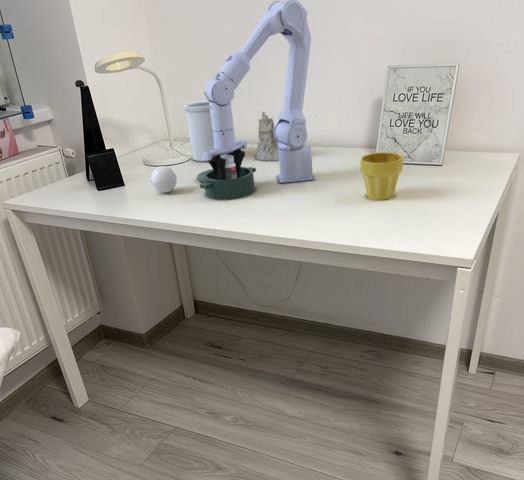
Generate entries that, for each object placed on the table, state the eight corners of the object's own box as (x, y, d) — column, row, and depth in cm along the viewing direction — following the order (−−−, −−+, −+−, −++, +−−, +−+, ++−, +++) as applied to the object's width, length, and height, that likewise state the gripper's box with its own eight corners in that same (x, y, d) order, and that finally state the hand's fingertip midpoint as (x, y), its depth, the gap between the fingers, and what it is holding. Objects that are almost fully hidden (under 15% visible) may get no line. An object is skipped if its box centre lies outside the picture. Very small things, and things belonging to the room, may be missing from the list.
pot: (188, 197, 151) (185, 178, 148) (238, 179, 162) (236, 162, 159) (221, 205, 143) (219, 186, 140) (271, 186, 154) (269, 167, 151)
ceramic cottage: (293, 161, 175) (290, 110, 167) (248, 161, 181) (243, 113, 174) (310, 152, 187) (308, 104, 179) (267, 153, 193) (264, 107, 186)
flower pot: (376, 205, 133) (377, 164, 128) (351, 195, 141) (352, 157, 136) (409, 196, 136) (412, 156, 131) (383, 187, 144) (385, 149, 139)
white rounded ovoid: (163, 187, 162) (159, 162, 158) (183, 189, 158) (179, 163, 154) (142, 197, 155) (136, 171, 151) (162, 200, 151) (157, 173, 147)
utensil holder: (197, 152, 197) (189, 100, 187) (237, 150, 194) (231, 97, 185) (186, 163, 184) (178, 108, 175) (229, 161, 182) (223, 105, 173)
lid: (187, 180, 166) (184, 164, 164) (222, 168, 175) (220, 153, 172) (219, 187, 157) (217, 170, 154) (255, 174, 166) (253, 158, 163)
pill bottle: (235, 189, 149) (232, 158, 145) (219, 190, 150) (215, 159, 146) (239, 184, 153) (236, 154, 149) (223, 184, 154) (220, 154, 150)
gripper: (232, 122, 150) (237, 172, 157) (192, 133, 142) (200, 185, 149) (250, 124, 146) (254, 175, 153) (210, 136, 137) (217, 189, 145)
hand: (229, 180), depth 151 cm, fingers closed on pill bottle, 5 cm apart
